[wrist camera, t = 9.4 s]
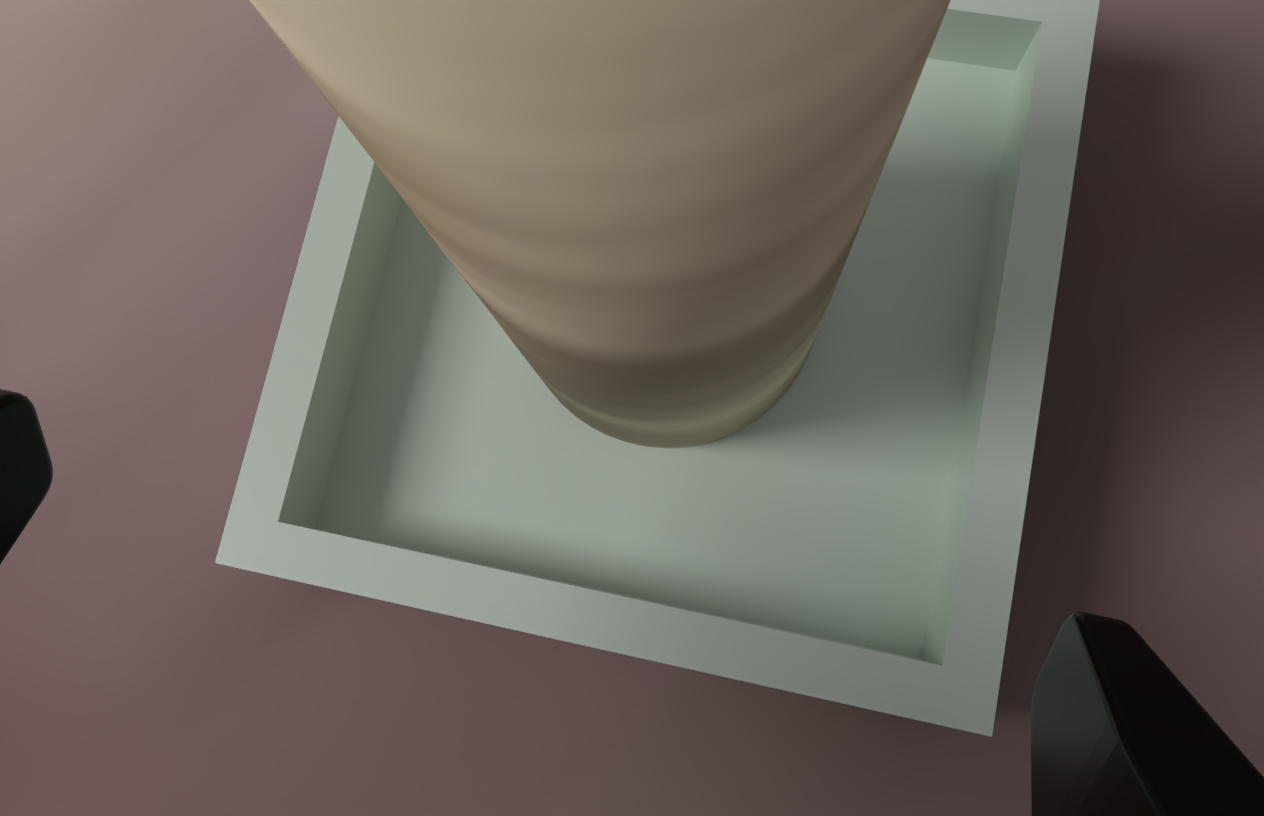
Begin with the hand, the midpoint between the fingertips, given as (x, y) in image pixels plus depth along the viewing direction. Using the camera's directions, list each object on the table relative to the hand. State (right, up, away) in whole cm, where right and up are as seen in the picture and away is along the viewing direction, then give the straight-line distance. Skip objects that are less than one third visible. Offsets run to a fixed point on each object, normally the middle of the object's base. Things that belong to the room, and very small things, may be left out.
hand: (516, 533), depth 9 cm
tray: (+2, +3, +9) cm, 10 cm away
